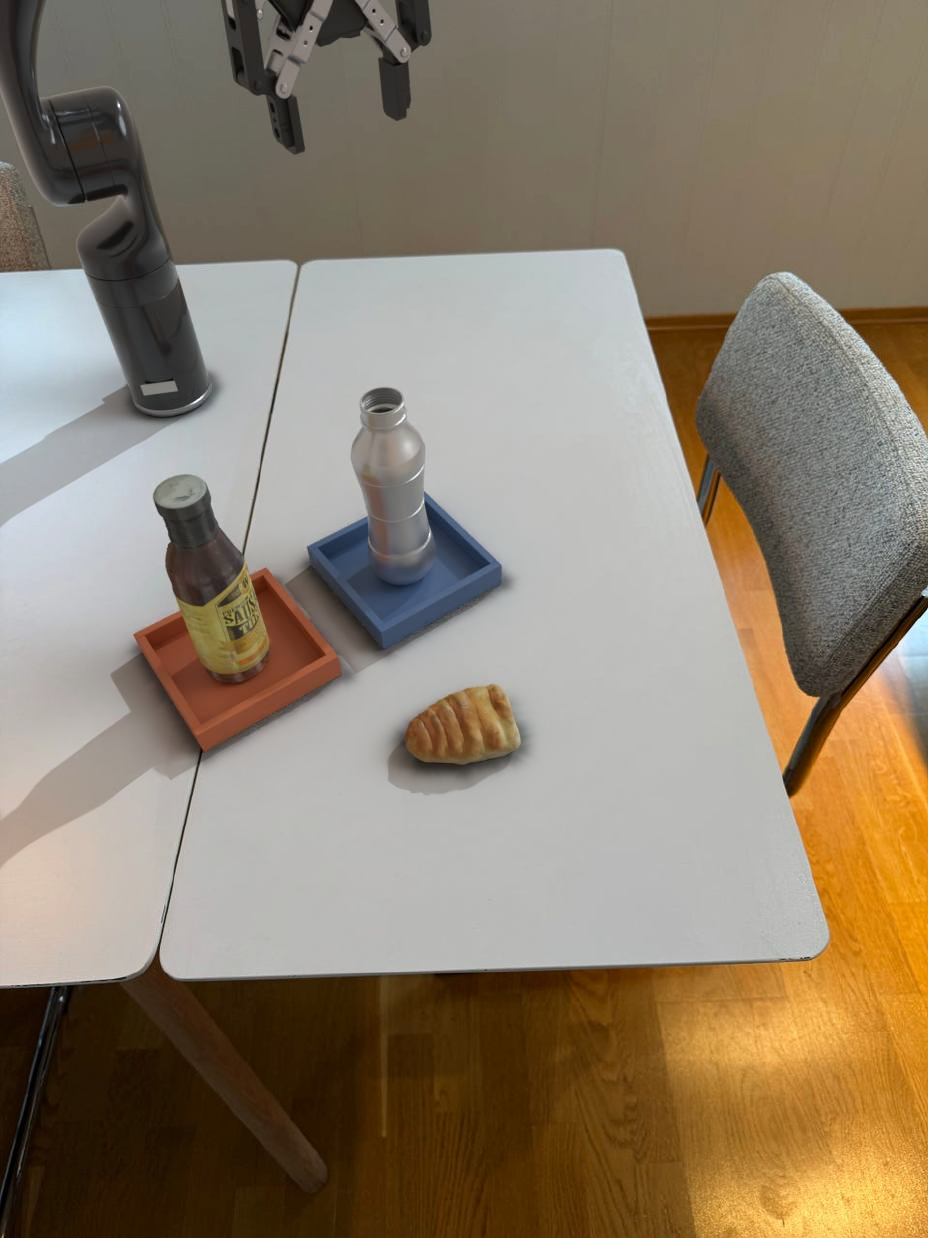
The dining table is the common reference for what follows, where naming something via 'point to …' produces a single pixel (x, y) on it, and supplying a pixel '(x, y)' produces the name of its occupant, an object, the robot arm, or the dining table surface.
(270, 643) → the terracotta tray
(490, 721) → the pastry
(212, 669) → the sauce bottle
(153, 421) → the dining table surface
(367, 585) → the blue tray
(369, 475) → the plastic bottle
